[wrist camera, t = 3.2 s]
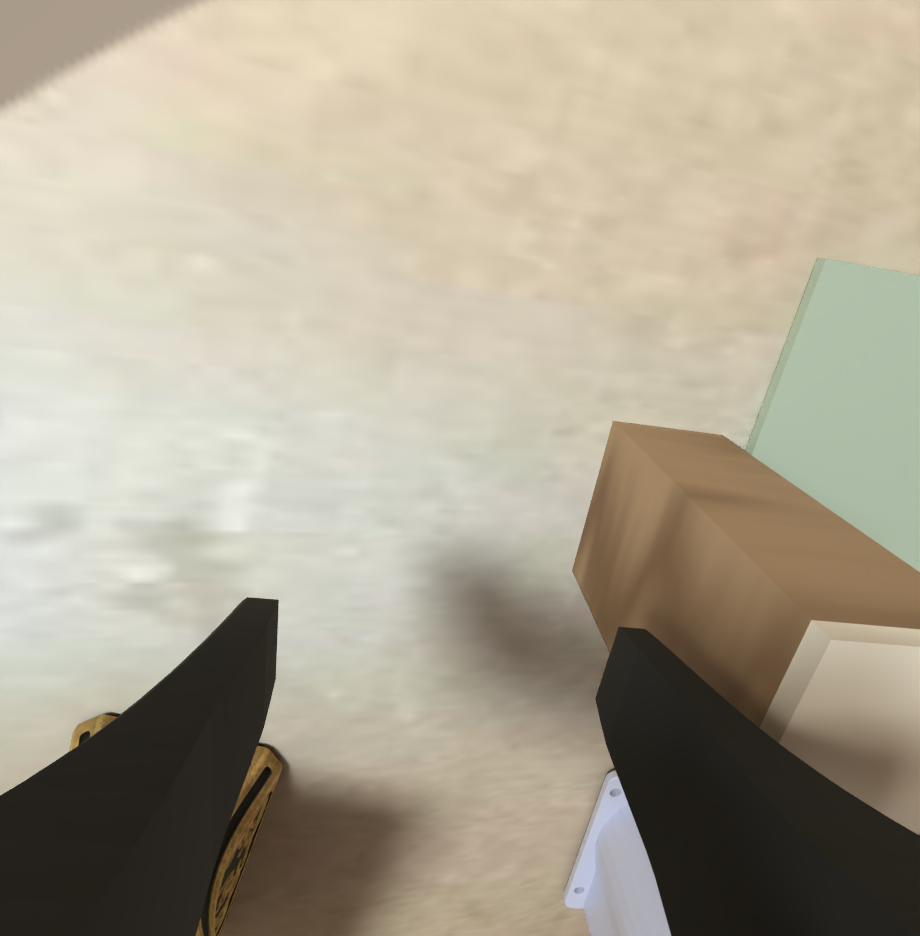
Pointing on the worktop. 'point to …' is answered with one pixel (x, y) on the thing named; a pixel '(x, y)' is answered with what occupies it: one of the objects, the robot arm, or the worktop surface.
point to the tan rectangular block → (763, 603)
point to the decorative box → (237, 834)
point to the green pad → (851, 402)
